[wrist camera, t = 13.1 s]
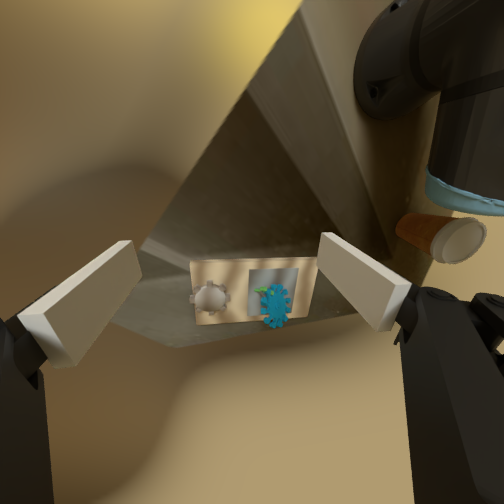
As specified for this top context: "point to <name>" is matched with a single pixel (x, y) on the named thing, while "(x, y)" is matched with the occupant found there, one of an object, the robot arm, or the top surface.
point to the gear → (274, 304)
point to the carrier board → (249, 287)
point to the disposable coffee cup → (442, 235)
